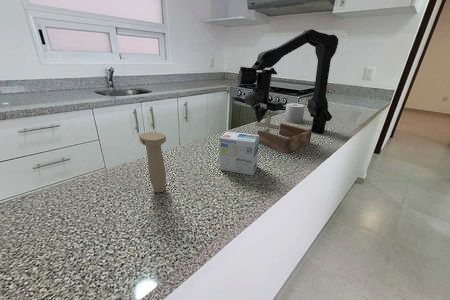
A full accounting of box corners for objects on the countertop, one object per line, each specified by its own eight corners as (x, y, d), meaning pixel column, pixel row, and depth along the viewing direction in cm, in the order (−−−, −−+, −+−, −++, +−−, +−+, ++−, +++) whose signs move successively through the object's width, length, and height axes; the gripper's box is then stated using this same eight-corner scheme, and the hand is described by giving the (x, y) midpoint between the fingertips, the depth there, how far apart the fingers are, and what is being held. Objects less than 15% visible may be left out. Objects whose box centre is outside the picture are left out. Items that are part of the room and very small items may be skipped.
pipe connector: (276, 143, 88) (282, 121, 83) (252, 139, 89) (257, 117, 84) (275, 133, 96) (280, 112, 91) (254, 129, 97) (257, 108, 92)
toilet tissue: (295, 116, 124) (297, 101, 120) (305, 123, 112) (307, 106, 108) (280, 116, 123) (282, 101, 120) (288, 123, 111) (290, 107, 108)
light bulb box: (257, 166, 68) (260, 134, 63) (253, 176, 62) (255, 142, 57) (226, 160, 71) (226, 130, 66) (219, 170, 65) (218, 137, 61)
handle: (160, 199, 52) (152, 141, 46) (144, 190, 55) (134, 135, 49) (175, 189, 55) (169, 135, 49) (159, 182, 59) (151, 130, 53)
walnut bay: (280, 133, 96) (281, 123, 94) (309, 142, 86) (311, 130, 84) (256, 142, 86) (257, 130, 84) (286, 153, 76) (288, 140, 74)
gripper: (233, 83, 88) (230, 119, 94) (268, 90, 75) (263, 132, 82) (251, 82, 94) (248, 116, 101) (286, 88, 82) (280, 127, 88)
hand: (258, 122), depth 93 cm, fingers closed
